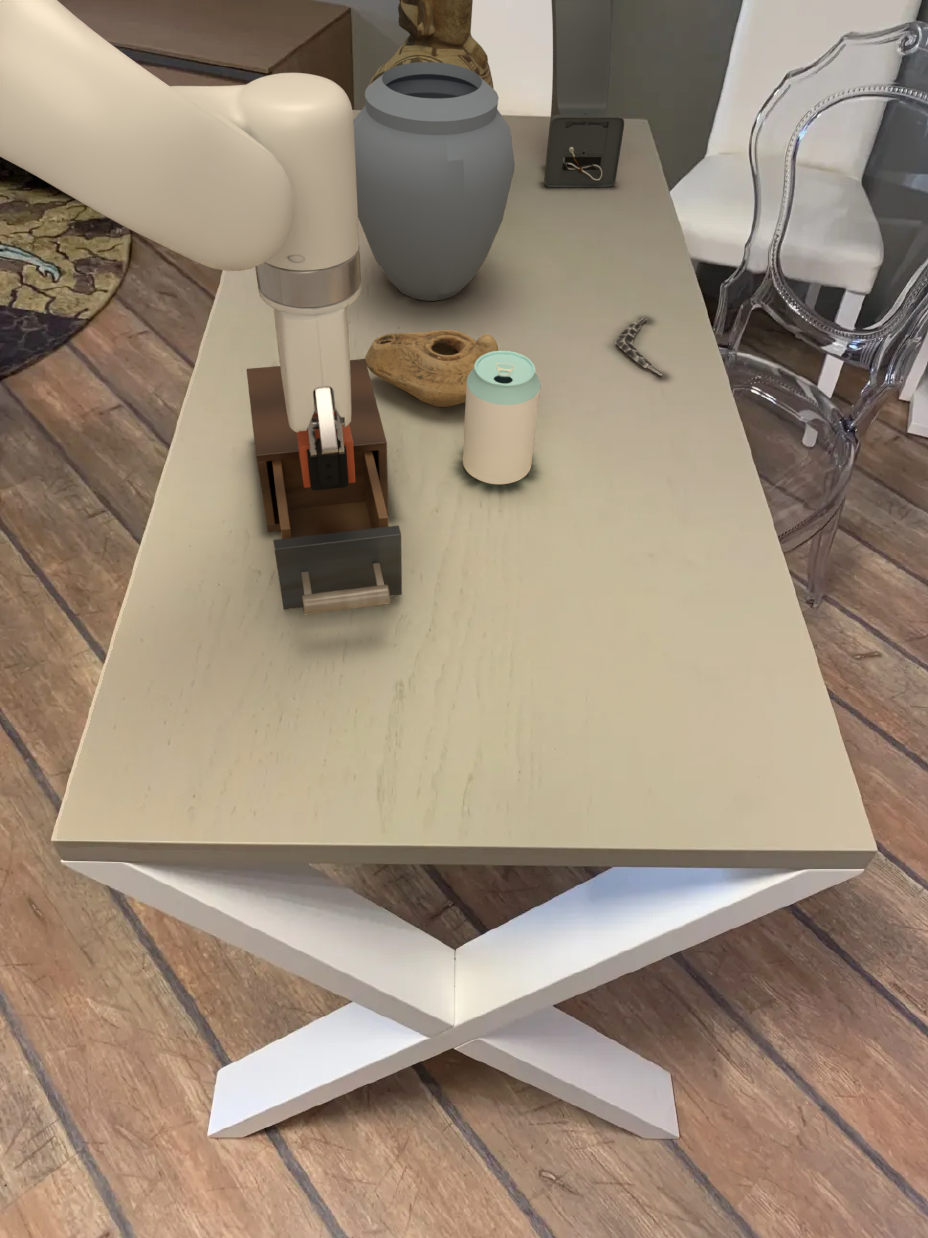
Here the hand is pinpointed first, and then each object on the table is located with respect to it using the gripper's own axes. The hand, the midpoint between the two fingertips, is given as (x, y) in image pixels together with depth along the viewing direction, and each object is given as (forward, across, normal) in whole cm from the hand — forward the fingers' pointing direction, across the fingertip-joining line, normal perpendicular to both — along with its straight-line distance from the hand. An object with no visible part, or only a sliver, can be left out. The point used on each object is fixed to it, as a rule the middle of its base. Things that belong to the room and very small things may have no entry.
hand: (325, 466), depth 82 cm
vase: (+10, -46, +18) cm, 50 cm away
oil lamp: (+10, -22, +14) cm, 28 cm away
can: (+10, -8, +18) cm, 22 cm away
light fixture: (+10, -80, +47) cm, 93 cm away
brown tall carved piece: (+10, -78, +24) cm, 82 cm away
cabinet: (+9, -10, 0) cm, 13 cm away
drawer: (+8, +4, 0) cm, 10 cm away
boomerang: (+9, -28, +40) cm, 49 cm away
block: (0, 0, 0) cm, 0 cm away
